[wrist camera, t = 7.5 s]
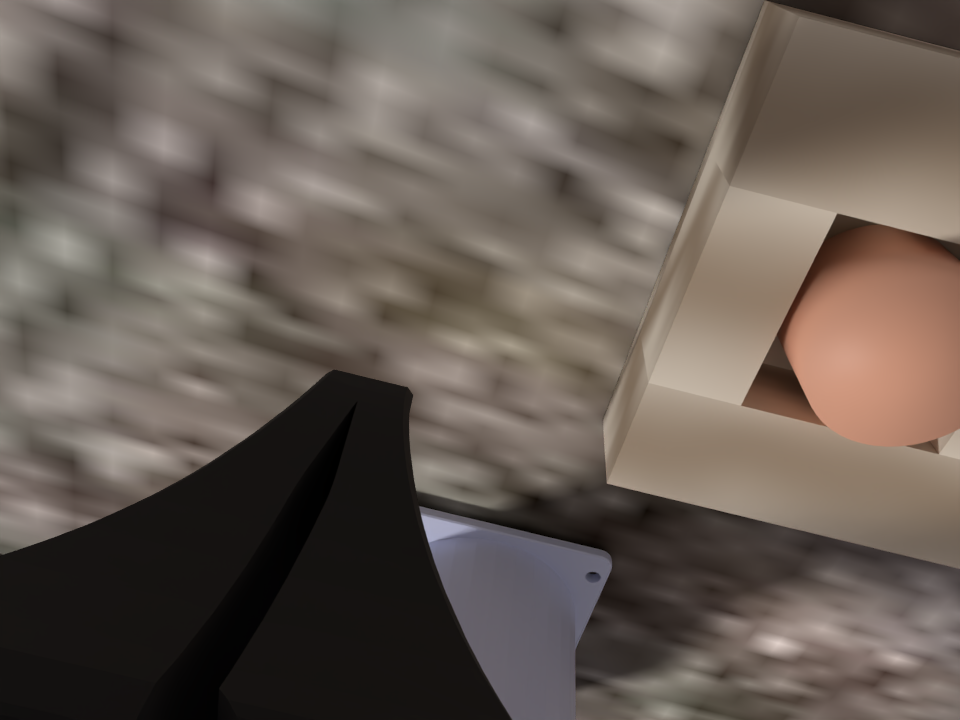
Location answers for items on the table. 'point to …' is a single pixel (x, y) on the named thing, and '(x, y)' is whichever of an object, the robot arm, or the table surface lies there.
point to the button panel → (793, 289)
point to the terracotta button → (879, 336)
